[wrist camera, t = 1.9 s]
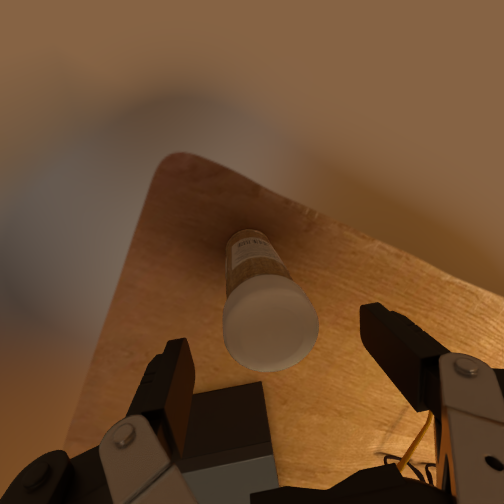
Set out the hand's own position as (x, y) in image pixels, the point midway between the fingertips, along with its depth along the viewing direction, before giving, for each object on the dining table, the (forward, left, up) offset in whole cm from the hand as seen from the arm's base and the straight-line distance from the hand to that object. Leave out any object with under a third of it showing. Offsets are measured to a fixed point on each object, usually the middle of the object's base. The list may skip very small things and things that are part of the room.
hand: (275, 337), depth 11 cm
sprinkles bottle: (0, 0, -14) cm, 14 cm away
